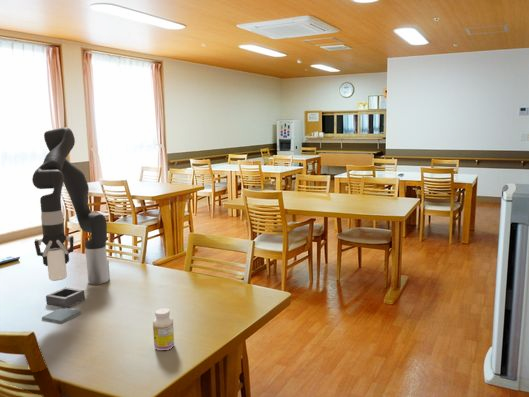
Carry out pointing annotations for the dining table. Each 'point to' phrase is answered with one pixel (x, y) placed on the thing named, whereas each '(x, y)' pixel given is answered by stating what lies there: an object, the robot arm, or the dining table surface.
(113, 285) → the dining table surface
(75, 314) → the mat
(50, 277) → the can
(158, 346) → the supplement bottle
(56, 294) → the sleeve
